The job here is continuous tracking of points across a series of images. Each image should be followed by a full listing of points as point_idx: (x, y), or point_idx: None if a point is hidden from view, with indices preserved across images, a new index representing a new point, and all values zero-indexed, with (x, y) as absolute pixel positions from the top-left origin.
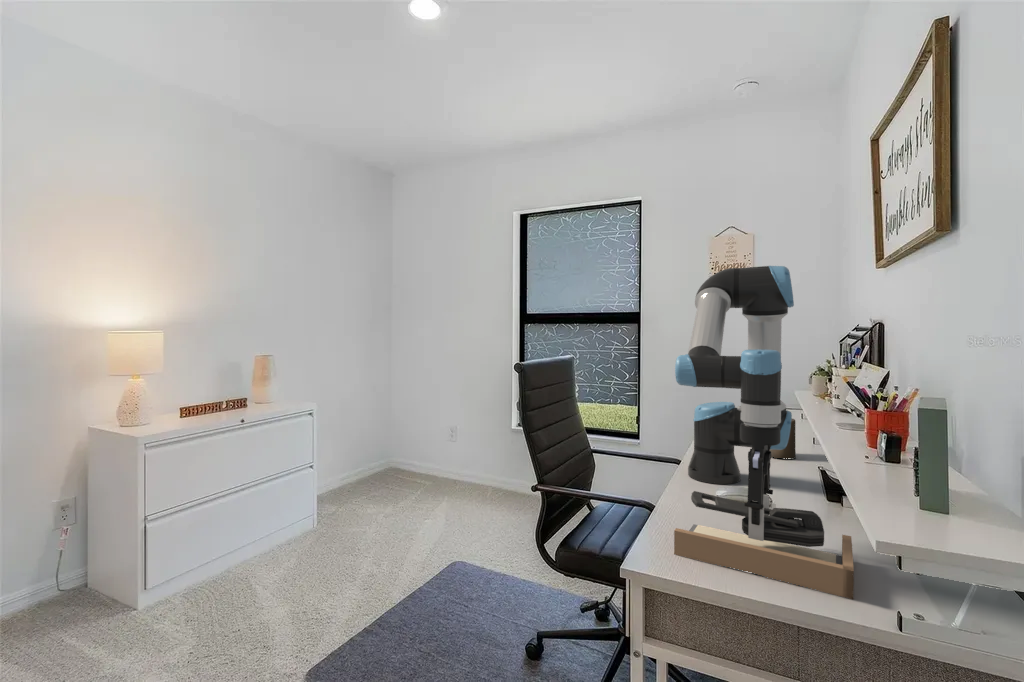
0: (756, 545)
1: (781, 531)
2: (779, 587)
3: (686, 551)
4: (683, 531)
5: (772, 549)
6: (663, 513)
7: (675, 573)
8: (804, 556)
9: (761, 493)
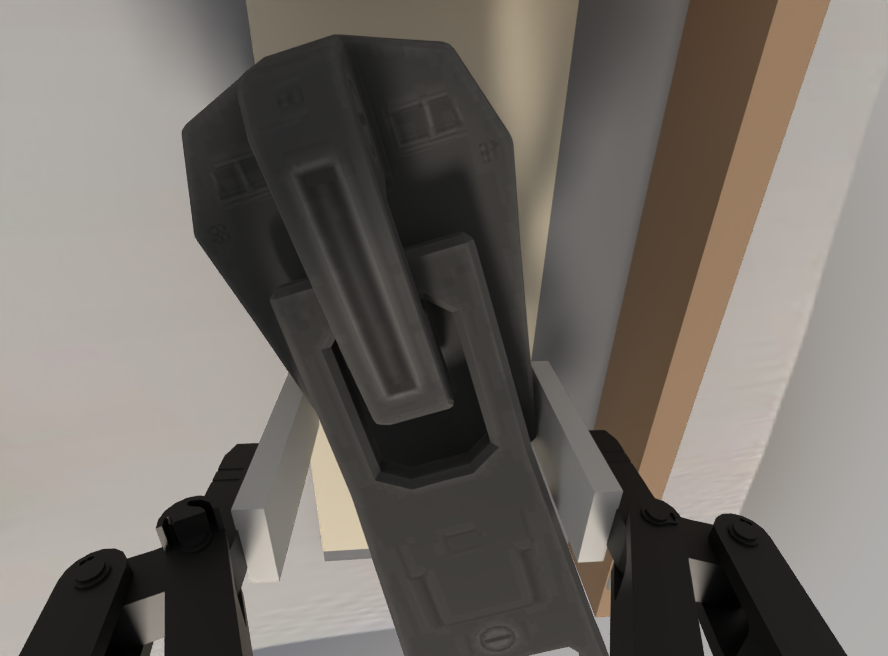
0: None
1: (525, 311)
2: None
3: None
4: None
5: (684, 317)
6: (272, 637)
7: (709, 502)
8: None
9: (836, 648)
